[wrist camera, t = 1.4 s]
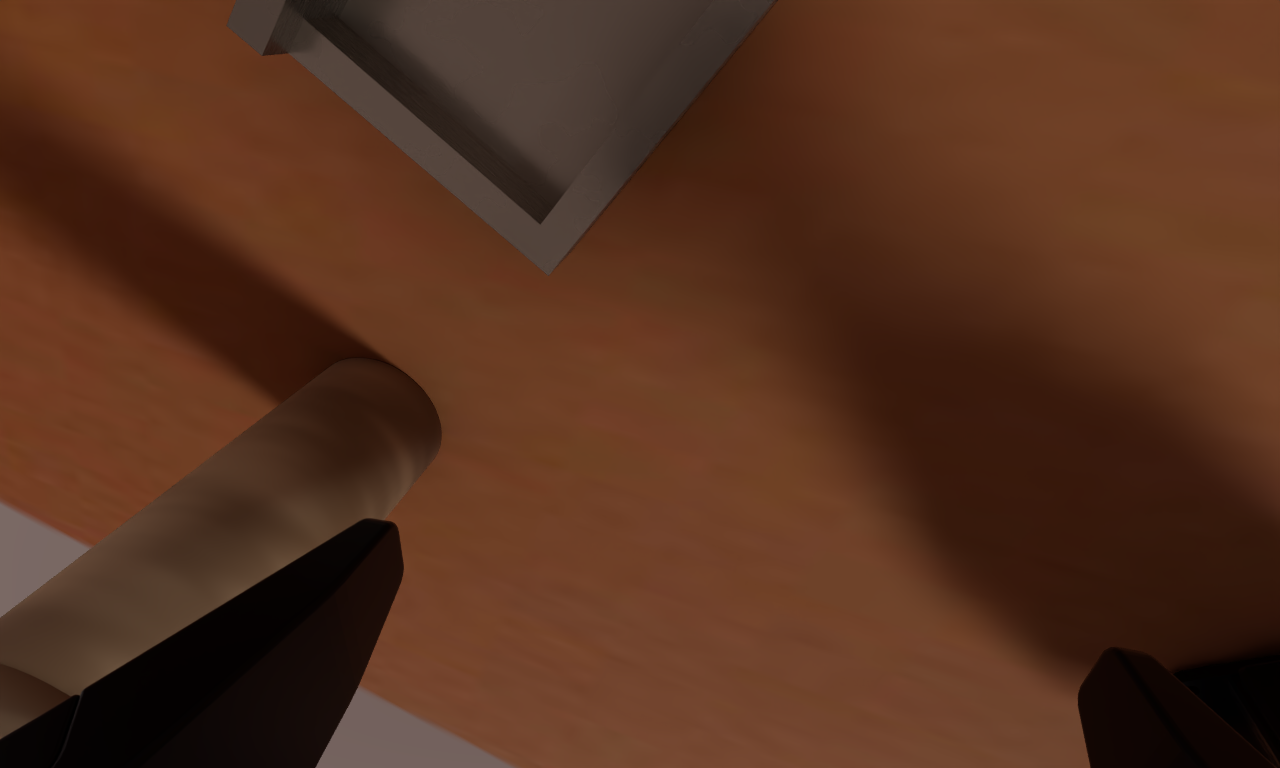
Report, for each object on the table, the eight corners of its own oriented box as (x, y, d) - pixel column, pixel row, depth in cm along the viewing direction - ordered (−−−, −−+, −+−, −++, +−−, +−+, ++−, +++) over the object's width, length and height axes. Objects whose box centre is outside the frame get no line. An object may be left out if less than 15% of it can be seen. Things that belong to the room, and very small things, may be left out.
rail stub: (469, 449, 25) (162, 856, 13) (373, 491, 27) (32, 876, 15) (382, 334, 24) (-58, 679, 12) (287, 387, 26) (-171, 728, 14)
